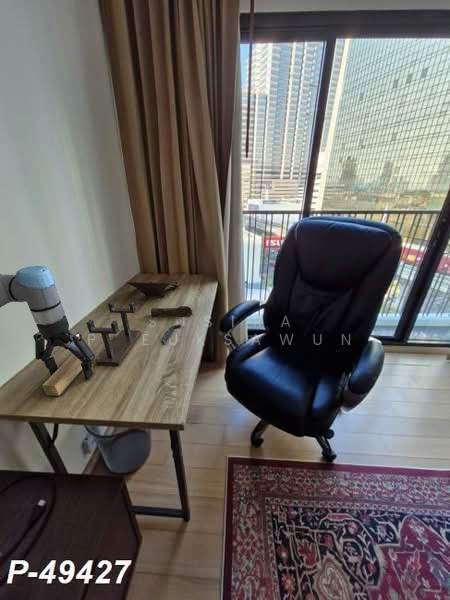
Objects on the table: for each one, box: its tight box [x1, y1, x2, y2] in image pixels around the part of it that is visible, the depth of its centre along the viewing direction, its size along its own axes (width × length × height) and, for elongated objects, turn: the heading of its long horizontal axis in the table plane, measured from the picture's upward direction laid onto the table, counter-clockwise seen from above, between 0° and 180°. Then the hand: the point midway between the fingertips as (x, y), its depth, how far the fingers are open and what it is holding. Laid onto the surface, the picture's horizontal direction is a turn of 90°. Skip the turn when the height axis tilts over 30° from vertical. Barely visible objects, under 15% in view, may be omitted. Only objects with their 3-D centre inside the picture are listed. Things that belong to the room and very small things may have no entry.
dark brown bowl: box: [126, 281, 180, 298], centre depth 138 cm, size 23×23×9 cm
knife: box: [162, 323, 182, 345], centre depth 104 cm, size 14×4×1 cm, turn 169°
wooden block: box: [41, 353, 85, 397], centre depth 82 cm, size 4×18×5 cm, turn 175°
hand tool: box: [150, 305, 193, 317], centre depth 117 cm, size 19×4×5 cm, turn 88°
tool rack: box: [85, 300, 142, 367], centre depth 93 cm, size 10×20×16 cm, turn 175°
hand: (72, 375), depth 83 cm, fingers open, 11 cm apart
